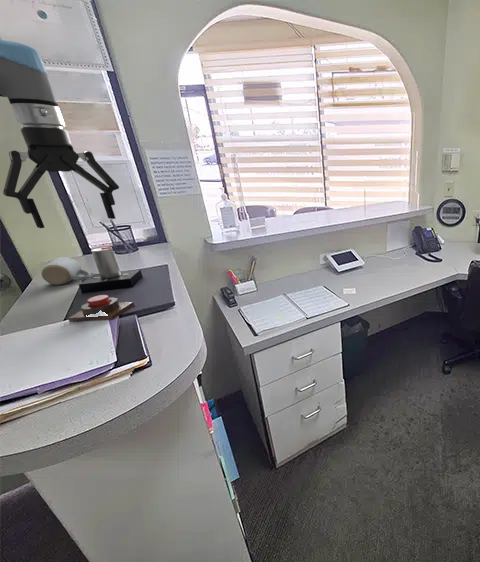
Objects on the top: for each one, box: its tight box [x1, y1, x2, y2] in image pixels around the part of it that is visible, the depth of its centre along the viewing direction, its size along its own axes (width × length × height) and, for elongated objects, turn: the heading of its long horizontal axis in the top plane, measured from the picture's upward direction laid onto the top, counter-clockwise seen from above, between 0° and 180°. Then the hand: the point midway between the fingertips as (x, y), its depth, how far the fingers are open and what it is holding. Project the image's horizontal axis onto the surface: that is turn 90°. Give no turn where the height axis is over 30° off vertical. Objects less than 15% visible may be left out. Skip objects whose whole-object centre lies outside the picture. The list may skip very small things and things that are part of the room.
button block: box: [67, 296, 136, 323], centre depth 78 cm, size 10×8×4 cm
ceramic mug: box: [41, 256, 92, 286], centre depth 103 cm, size 11×8×8 cm
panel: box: [78, 268, 144, 294], centre depth 99 cm, size 13×10×3 cm
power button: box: [86, 294, 110, 307], centre depth 77 cm, size 4×4×2 cm
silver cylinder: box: [90, 246, 121, 279], centre depth 97 cm, size 5×5×9 cm
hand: (78, 222), depth 77 cm, fingers open, 13 cm apart
